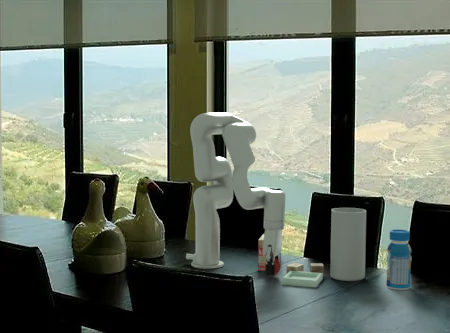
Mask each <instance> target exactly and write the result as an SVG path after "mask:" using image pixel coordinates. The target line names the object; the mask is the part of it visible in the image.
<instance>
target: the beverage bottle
mask: <svg viewBox="0 0 450 333" xmlns="http://www.w3.org/2000/svg"><path fill="white" fill-rule="evenodd" d="M410 235H411V233H410V231H409V230H407V229H397V228H396V229H391V230H389V240H390V242H389V243H388V246H387V254H386V263H387V264H386V288H388V289H390V290H394V291H406V290H410V289H411V271H412V270H411V265H412V255H411V254H412V247H411V246H410V244H409V241H410V238H411V236H410Z"/></svg>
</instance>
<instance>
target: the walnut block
mask: <svg viewBox="0 0 450 333" xmlns="http://www.w3.org/2000/svg"><path fill="white" fill-rule="evenodd" d="M324 267H325V266H324V264H323V263H321V262H319V263H317V262H316V263H315V262H314V263H313V262H312V263H311V262H310V267H309V268H310V270H309V272H313V273H323V274H324Z"/></svg>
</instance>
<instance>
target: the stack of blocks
mask: <svg viewBox="0 0 450 333" xmlns="http://www.w3.org/2000/svg"><path fill="white" fill-rule="evenodd" d="M264 234H265V233H263V234H262V235H261V236H260V237H259V239H257V240H258V246H257V247H258V248H257V252H258V254H257V256H258V262H257V264H258V265H257V271H259V272H260V271H262V272H266V270H265V263H266V256H263V243H264ZM281 259H282V252H281V253H280V254H279V262H280V263H281Z"/></svg>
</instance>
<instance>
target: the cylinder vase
mask: <svg viewBox="0 0 450 333" xmlns="http://www.w3.org/2000/svg"><path fill="white" fill-rule="evenodd" d="M330 220H331V222H330V224H331V226H330V231H331V232H330V274H329V275H330V277H331V278H332V279H334V280H337V281H342V282H343V281H344V282H358V281H362V280H363V279H365V276H366V242H367V241H366V239H367V238H366V237H367V210H366V209H364V208H356V207H338V208H337V207H335V208H331V218H330Z"/></svg>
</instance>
